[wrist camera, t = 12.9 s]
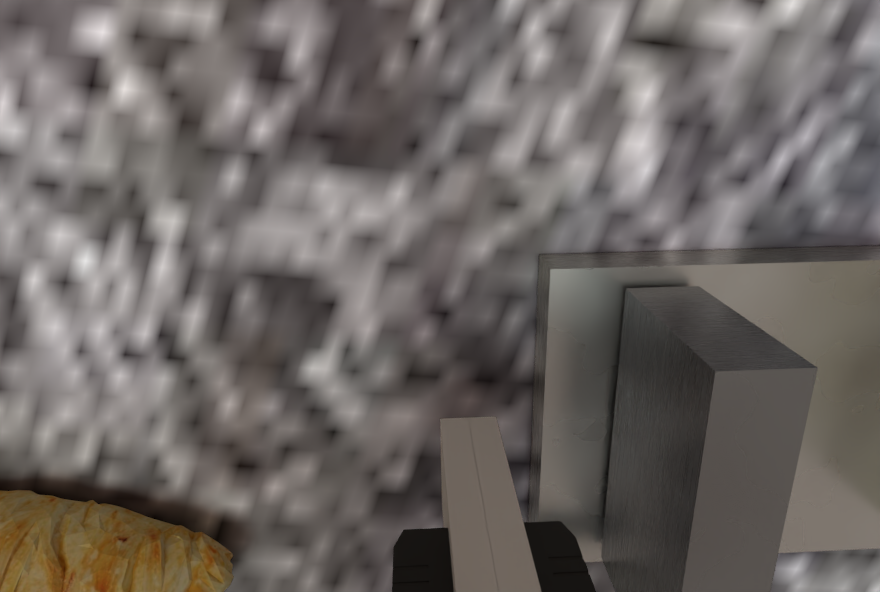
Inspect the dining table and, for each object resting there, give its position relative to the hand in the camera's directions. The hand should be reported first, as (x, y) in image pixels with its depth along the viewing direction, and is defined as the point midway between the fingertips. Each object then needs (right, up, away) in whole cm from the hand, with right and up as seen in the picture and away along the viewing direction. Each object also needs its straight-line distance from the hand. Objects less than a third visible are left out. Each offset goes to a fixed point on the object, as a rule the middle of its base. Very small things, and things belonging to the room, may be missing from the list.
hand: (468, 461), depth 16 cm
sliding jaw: (+5, 0, +2) cm, 6 cm away
